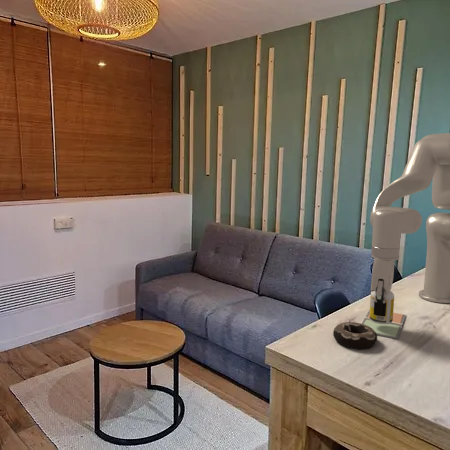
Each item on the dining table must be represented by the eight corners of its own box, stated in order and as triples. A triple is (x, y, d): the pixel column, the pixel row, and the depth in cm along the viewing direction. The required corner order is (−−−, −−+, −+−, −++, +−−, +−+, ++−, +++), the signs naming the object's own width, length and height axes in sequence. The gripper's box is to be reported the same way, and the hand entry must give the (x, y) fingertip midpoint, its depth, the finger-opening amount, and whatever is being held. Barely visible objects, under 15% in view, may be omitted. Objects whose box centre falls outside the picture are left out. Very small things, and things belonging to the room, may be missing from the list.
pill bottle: (388, 317, 120) (391, 280, 118) (395, 325, 113) (398, 287, 112) (366, 316, 120) (368, 279, 119) (372, 324, 114) (374, 286, 112)
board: (370, 309, 133) (370, 307, 133) (405, 316, 128) (405, 313, 127) (357, 331, 116) (358, 328, 116) (398, 339, 110) (398, 336, 110)
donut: (381, 339, 111) (382, 325, 111) (370, 355, 102) (371, 341, 101) (340, 329, 118) (341, 316, 117) (327, 344, 108) (327, 330, 107)
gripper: (376, 245, 123) (373, 300, 126) (366, 257, 108) (362, 318, 111) (402, 248, 119) (398, 304, 122) (395, 260, 104) (391, 324, 107)
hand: (381, 310), depth 116 cm, fingers closed on pill bottle, 6 cm apart
